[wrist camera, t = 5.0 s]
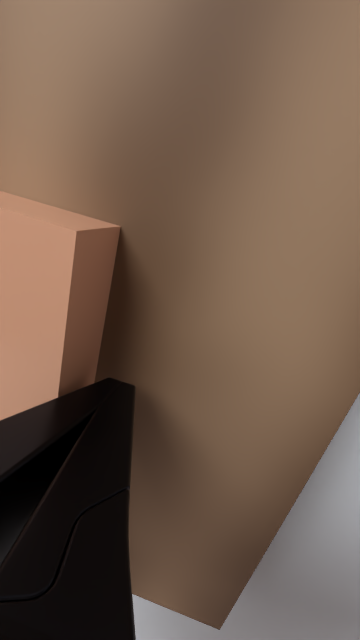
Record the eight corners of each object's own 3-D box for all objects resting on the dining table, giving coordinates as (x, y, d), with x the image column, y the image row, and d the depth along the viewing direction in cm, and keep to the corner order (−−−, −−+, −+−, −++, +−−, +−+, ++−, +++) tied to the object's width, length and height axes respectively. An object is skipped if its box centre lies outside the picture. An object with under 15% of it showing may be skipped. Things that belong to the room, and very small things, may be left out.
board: (480, 34, 7) (642, -88, 4) (224, 549, 14) (219, 629, 12) (50, -48, 8) (-54, -190, 5) (22, 471, 15) (-26, 528, 13)
